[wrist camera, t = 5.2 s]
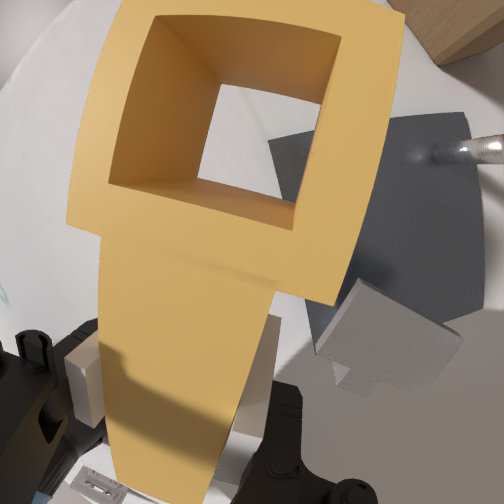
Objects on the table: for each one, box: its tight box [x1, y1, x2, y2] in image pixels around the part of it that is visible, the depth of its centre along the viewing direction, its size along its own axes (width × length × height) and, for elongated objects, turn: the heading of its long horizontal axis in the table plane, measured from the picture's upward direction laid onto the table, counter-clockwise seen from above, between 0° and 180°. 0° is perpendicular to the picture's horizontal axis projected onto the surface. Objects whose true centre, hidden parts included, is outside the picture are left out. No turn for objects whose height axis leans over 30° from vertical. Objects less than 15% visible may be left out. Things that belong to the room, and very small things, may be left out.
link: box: [66, 0, 405, 504], centre depth 10 cm, size 18×6×6 cm, turn 165°
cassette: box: [70, 466, 129, 504], centre depth 41 cm, size 12×2×8 cm, turn 76°
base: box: [268, 112, 504, 355], centre depth 20 cm, size 20×21×11 cm
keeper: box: [315, 278, 464, 397], centre depth 23 cm, size 8×10×10 cm
